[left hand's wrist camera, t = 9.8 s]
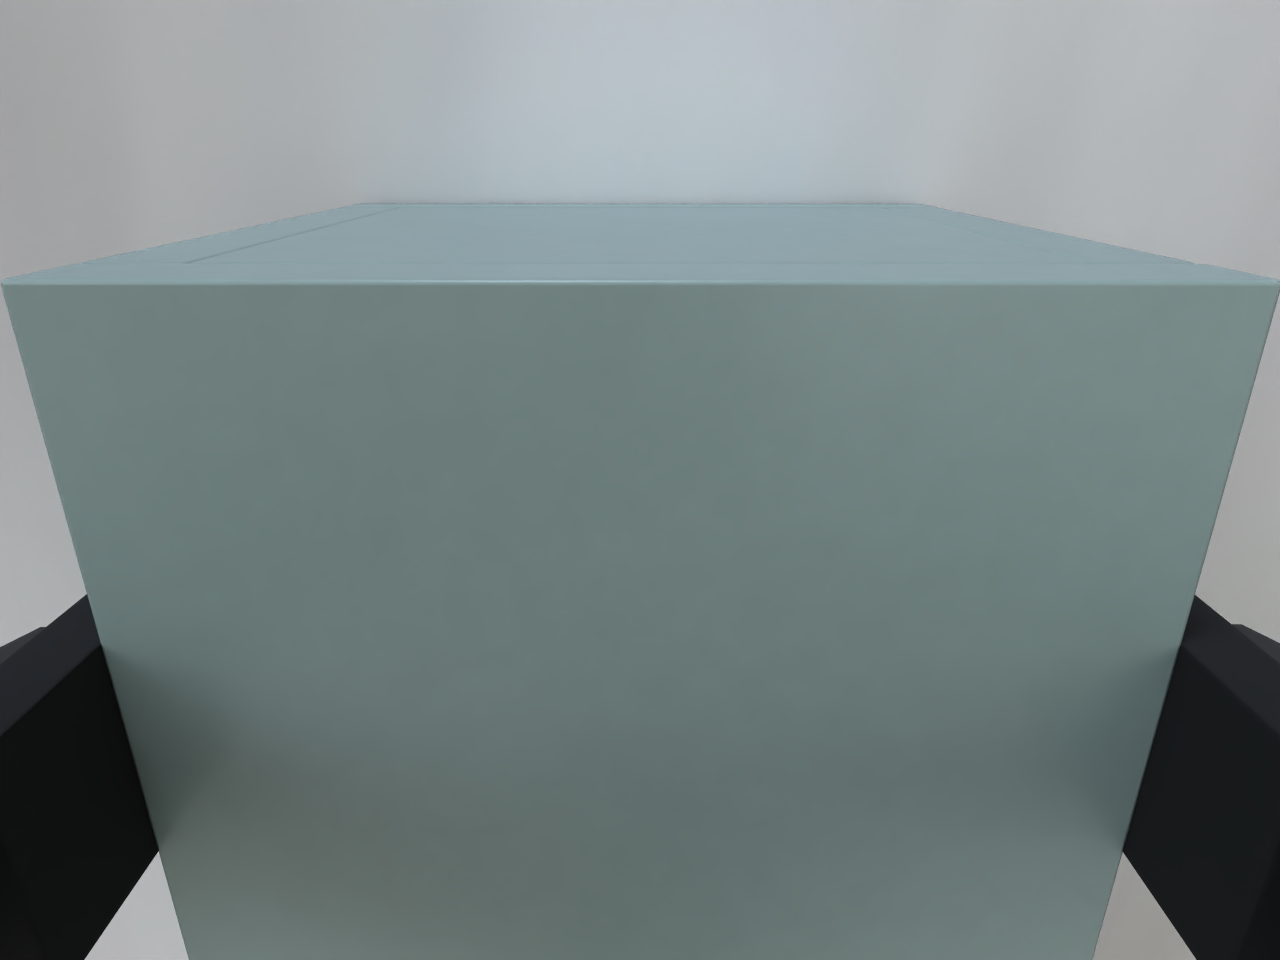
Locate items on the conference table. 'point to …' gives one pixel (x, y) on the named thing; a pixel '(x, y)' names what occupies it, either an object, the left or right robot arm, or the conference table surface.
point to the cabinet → (640, 569)
